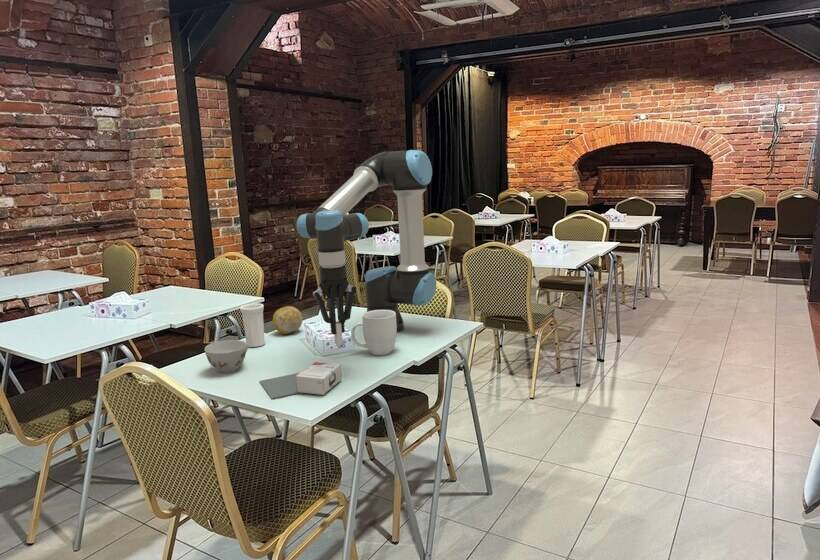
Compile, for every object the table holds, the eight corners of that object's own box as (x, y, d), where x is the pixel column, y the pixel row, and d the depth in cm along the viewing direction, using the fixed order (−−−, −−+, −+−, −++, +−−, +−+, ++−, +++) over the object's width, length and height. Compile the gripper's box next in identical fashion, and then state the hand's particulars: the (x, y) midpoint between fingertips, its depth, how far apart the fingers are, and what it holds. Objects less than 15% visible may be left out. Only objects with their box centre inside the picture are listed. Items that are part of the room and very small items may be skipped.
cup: (250, 350, 199) (246, 310, 196) (240, 345, 205) (235, 306, 202) (271, 344, 204) (267, 305, 201) (261, 340, 210) (257, 302, 207)
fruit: (268, 334, 217) (266, 308, 215) (291, 327, 225) (289, 302, 223) (285, 339, 210) (283, 312, 208) (308, 331, 218) (306, 306, 216)
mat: (318, 370, 177) (318, 368, 177) (335, 385, 163) (335, 384, 163) (259, 382, 169) (259, 380, 169) (271, 399, 156) (271, 398, 156)
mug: (351, 359, 185) (349, 319, 182) (353, 348, 196) (351, 311, 193) (398, 356, 185) (396, 317, 183) (397, 346, 196) (395, 308, 194)
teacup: (226, 379, 172) (223, 354, 170) (198, 373, 179) (195, 348, 177) (263, 363, 185) (260, 339, 183) (235, 358, 191) (233, 335, 189)
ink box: (316, 376, 170) (295, 393, 159) (314, 360, 168) (294, 375, 158) (343, 379, 167) (324, 396, 156) (342, 362, 166) (322, 378, 155)
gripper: (349, 260, 172) (355, 336, 176) (306, 266, 166) (313, 344, 171) (358, 264, 165) (364, 343, 170) (314, 270, 159) (321, 351, 164)
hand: (338, 343), depth 170 cm, fingers closed
